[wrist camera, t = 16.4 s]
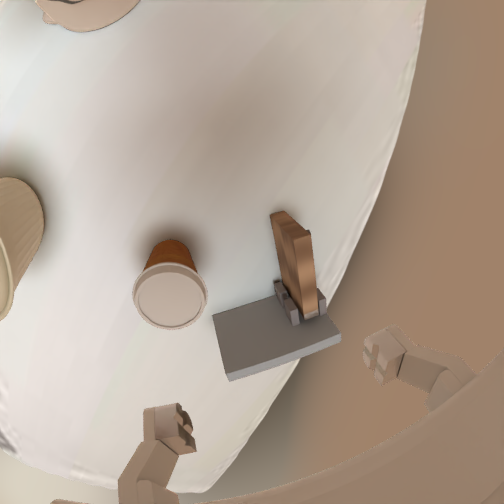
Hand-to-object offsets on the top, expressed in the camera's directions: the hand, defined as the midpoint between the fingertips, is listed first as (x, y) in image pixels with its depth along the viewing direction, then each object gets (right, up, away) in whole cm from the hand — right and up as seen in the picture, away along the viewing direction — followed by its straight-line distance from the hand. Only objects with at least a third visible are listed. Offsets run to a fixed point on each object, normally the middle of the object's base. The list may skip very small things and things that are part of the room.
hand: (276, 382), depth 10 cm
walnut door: (+4, +5, +37) cm, 37 cm away
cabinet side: (0, -3, +40) cm, 40 cm away
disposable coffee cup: (-14, +4, +32) cm, 35 cm away
